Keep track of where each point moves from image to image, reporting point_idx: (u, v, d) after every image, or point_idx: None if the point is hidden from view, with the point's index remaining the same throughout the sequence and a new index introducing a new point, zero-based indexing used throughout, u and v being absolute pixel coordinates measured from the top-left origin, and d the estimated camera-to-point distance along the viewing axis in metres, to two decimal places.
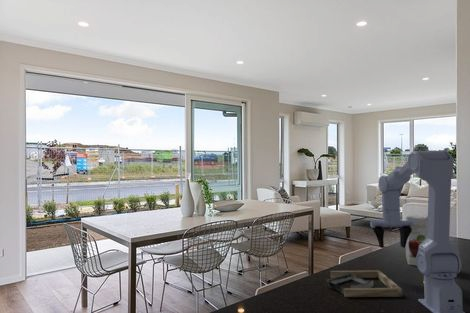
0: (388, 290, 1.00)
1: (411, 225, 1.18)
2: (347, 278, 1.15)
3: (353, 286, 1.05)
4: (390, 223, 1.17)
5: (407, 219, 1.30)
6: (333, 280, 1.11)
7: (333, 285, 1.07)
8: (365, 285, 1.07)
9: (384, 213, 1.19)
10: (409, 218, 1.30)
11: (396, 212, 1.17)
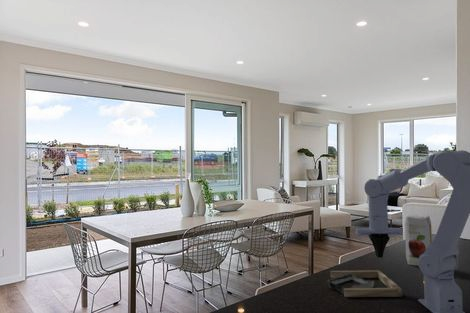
0: (388, 290, 1.00)
1: (400, 233, 1.08)
2: (347, 278, 1.15)
3: (354, 286, 1.04)
4: (377, 231, 1.07)
5: (407, 219, 1.30)
6: (334, 280, 1.11)
7: (334, 285, 1.07)
8: (366, 285, 1.06)
9: (371, 220, 1.09)
10: (409, 218, 1.30)
11: (383, 219, 1.07)
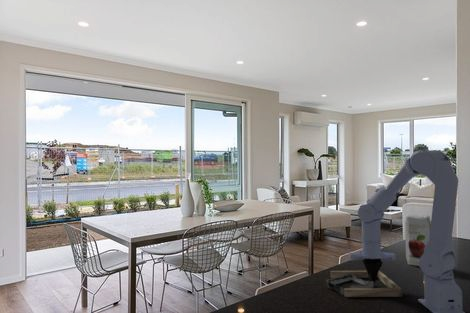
0: (388, 290, 1.00)
1: (393, 258, 1.08)
2: (347, 279, 1.14)
3: (352, 287, 1.04)
4: (370, 256, 1.07)
5: (407, 219, 1.30)
6: (333, 280, 1.11)
7: (332, 285, 1.07)
8: (365, 286, 1.06)
9: (364, 245, 1.09)
10: (409, 218, 1.30)
11: (376, 244, 1.07)
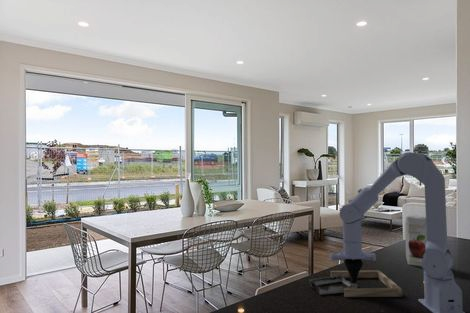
0: (388, 290, 1.00)
1: (373, 258, 1.08)
2: (336, 280, 1.13)
3: (332, 288, 1.04)
4: (350, 257, 1.07)
5: (407, 219, 1.30)
6: (318, 280, 1.11)
7: (314, 285, 1.08)
8: None
9: (344, 245, 1.09)
10: (409, 218, 1.30)
11: (357, 245, 1.07)
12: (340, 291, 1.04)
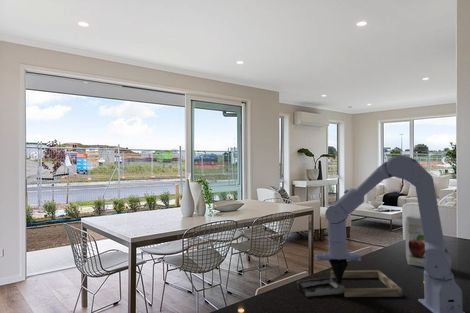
0: (388, 290, 1.00)
1: (358, 258, 1.08)
2: (323, 281, 1.12)
3: (319, 289, 1.02)
4: (335, 257, 1.07)
5: (407, 219, 1.30)
6: (305, 282, 1.10)
7: (301, 287, 1.06)
8: (334, 290, 1.03)
9: (329, 245, 1.09)
10: (409, 218, 1.30)
11: (342, 245, 1.07)
12: (327, 293, 1.03)
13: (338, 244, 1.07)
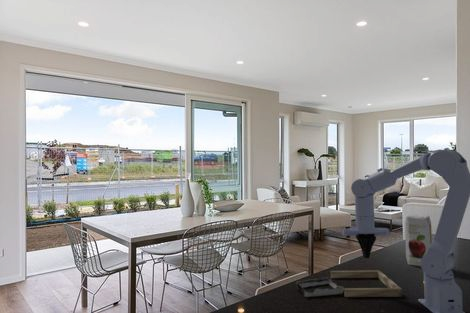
0: (388, 290, 1.00)
1: (386, 233, 1.07)
2: (322, 282, 1.12)
3: (317, 290, 1.02)
4: (363, 231, 1.06)
5: (407, 219, 1.30)
6: (304, 282, 1.09)
7: (300, 287, 1.06)
8: (333, 290, 1.03)
9: (357, 220, 1.08)
10: (409, 218, 1.30)
11: (370, 219, 1.06)
12: (326, 293, 1.03)
13: (366, 218, 1.06)
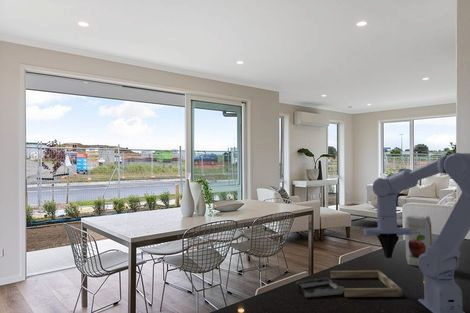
0: (388, 290, 1.00)
1: (409, 233, 1.06)
2: (323, 282, 1.11)
3: (318, 290, 1.02)
4: (386, 231, 1.05)
5: (407, 219, 1.30)
6: (304, 283, 1.09)
7: (300, 288, 1.06)
8: (333, 290, 1.03)
9: (379, 220, 1.07)
10: (409, 218, 1.30)
11: (392, 219, 1.05)
12: (326, 294, 1.02)
13: (389, 218, 1.05)
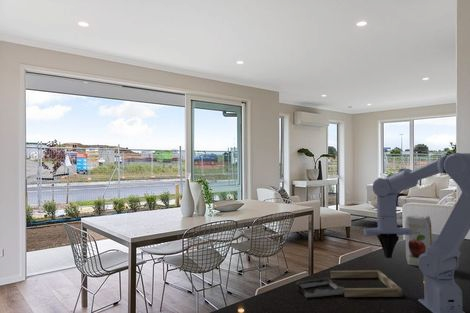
0: (388, 290, 1.00)
1: (409, 233, 1.06)
2: (323, 282, 1.11)
3: (318, 290, 1.02)
4: (386, 231, 1.05)
5: (407, 219, 1.30)
6: (304, 283, 1.09)
7: (300, 288, 1.06)
8: (333, 291, 1.03)
9: (379, 220, 1.07)
10: (409, 218, 1.30)
11: (392, 219, 1.05)
12: (326, 294, 1.02)
13: (389, 218, 1.05)
